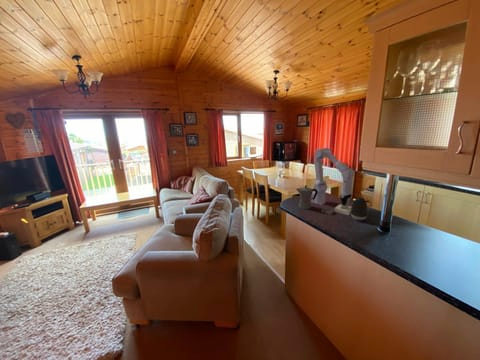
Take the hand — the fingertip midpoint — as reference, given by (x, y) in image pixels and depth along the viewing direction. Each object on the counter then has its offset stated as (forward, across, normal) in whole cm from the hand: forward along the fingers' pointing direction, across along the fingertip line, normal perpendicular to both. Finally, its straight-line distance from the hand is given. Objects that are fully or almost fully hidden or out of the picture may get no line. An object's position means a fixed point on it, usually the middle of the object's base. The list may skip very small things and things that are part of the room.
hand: (344, 204), depth 145 cm
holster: (+6, -9, +8) cm, 13 cm away
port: (+6, 0, 0) cm, 6 cm away
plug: (+2, 0, 0) cm, 2 cm away
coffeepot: (+6, -11, +24) cm, 27 cm away
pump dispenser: (+6, -5, -11) cm, 13 cm away
